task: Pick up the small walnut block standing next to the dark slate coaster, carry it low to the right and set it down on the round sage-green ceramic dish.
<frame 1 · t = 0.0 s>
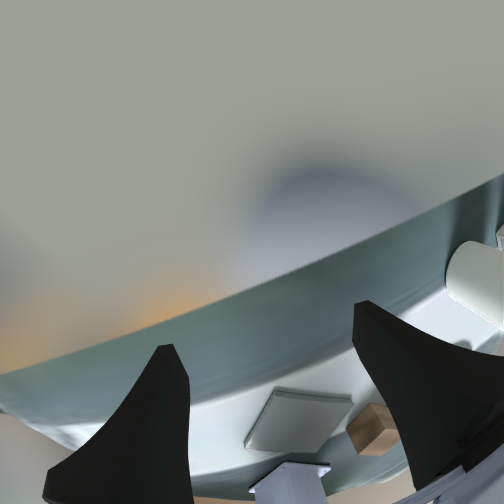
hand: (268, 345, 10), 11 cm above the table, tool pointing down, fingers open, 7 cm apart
can: (461, 269, 23), on the table
slate coaster: (297, 424, 26), on the table
walnut block: (369, 418, 27), on the table
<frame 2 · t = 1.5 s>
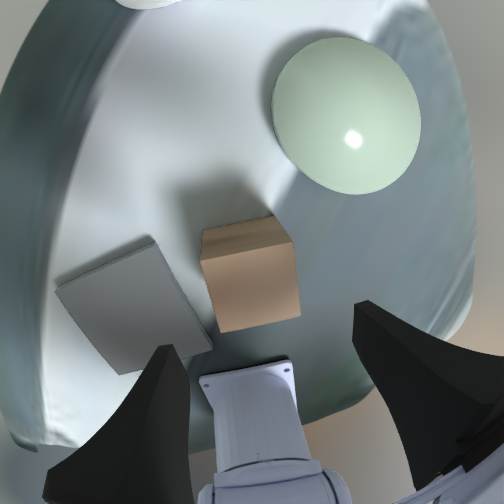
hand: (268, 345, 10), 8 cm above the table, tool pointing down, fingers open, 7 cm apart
sage dish: (349, 114, 15), on the table
slate coaster: (133, 316, 19), on the table
walnut block: (245, 254, 18), on the table
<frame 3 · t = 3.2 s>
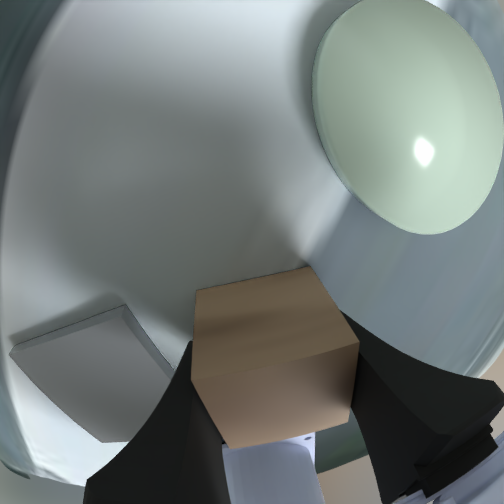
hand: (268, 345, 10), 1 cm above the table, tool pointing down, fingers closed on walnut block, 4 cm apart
sage dish: (423, 110, 9), on the table
slate coaster: (109, 389, 13), on the table
walnut block: (262, 323, 12), on the table, touching gripper
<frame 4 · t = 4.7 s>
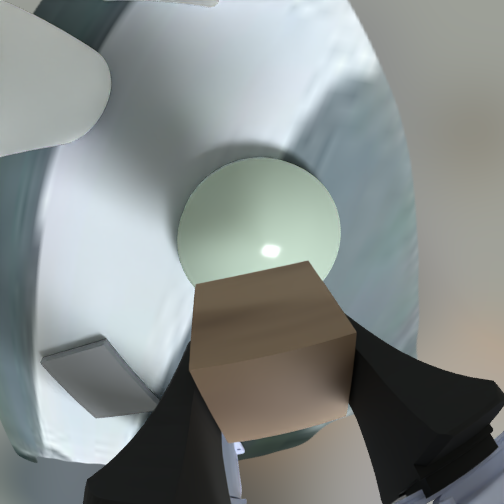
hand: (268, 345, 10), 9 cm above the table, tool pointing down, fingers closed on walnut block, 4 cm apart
can: (70, 95, 13), on the table
sage dish: (259, 237, 18), on the table
slate coaster: (100, 382, 22), on the table
walnut block: (261, 317, 12), point 7 cm above the table, touching gripper
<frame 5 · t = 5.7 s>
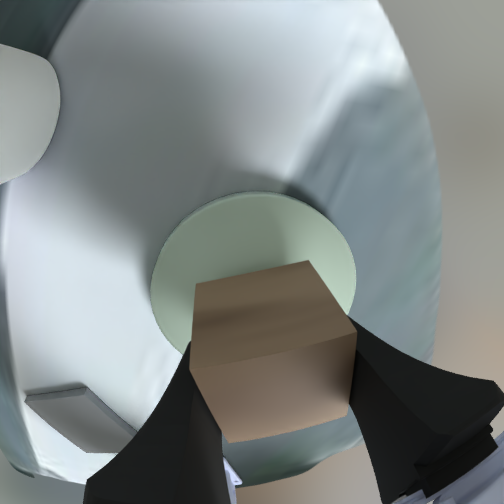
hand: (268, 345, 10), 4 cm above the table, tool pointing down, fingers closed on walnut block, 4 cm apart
can: (18, 115, 9), on the table
sage dish: (254, 290, 14), on the table
slate coaster: (86, 423, 18), on the table
walnut block: (261, 317, 12), point 2 cm above the table, touching gripper
when the fingers open (4 cm above the table, at t = 6.5 s): walnut block drops 1 cm, resting on sage dish.
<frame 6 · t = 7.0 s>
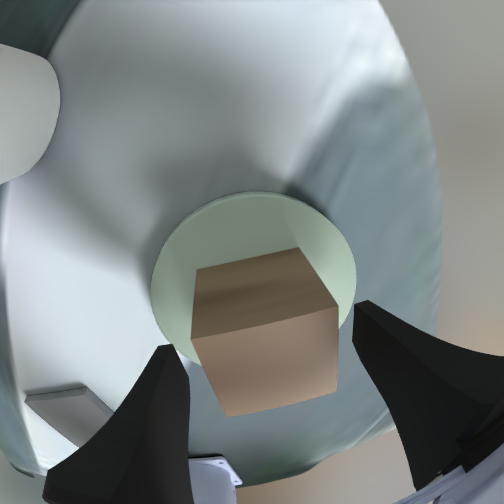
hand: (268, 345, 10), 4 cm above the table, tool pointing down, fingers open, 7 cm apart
can: (18, 115, 9), on the table
sage dish: (254, 290, 14), on the table
slate coaster: (86, 423, 18), on the table
walnut block: (256, 300, 13), point 1 cm above the table, touching sage dish
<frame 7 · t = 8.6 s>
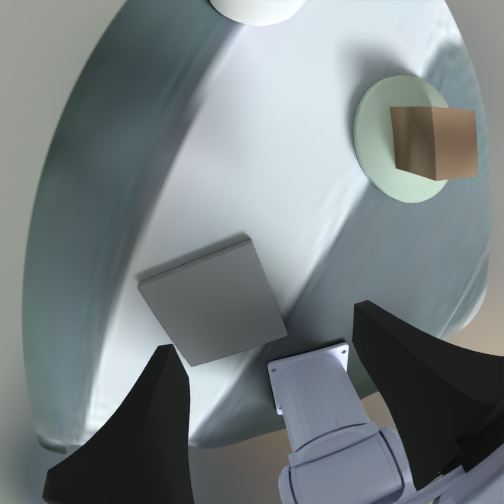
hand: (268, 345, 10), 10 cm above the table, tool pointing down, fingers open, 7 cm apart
sage dish: (407, 137, 18), on the table
slate coaster: (216, 308, 22), on the table
walnut block: (416, 137, 17), point 1 cm above the table, touching sage dish
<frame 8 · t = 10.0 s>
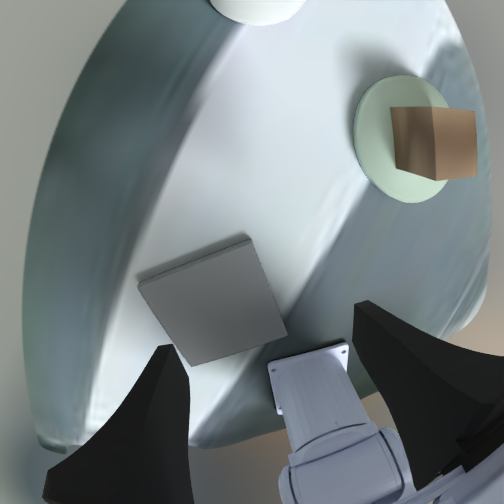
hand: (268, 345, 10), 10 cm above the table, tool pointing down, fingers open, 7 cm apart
sage dish: (407, 137, 18), on the table
slate coaster: (216, 308, 22), on the table
walnut block: (416, 137, 17), point 1 cm above the table, touching sage dish
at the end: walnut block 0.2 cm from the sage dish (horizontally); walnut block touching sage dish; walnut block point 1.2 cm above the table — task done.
